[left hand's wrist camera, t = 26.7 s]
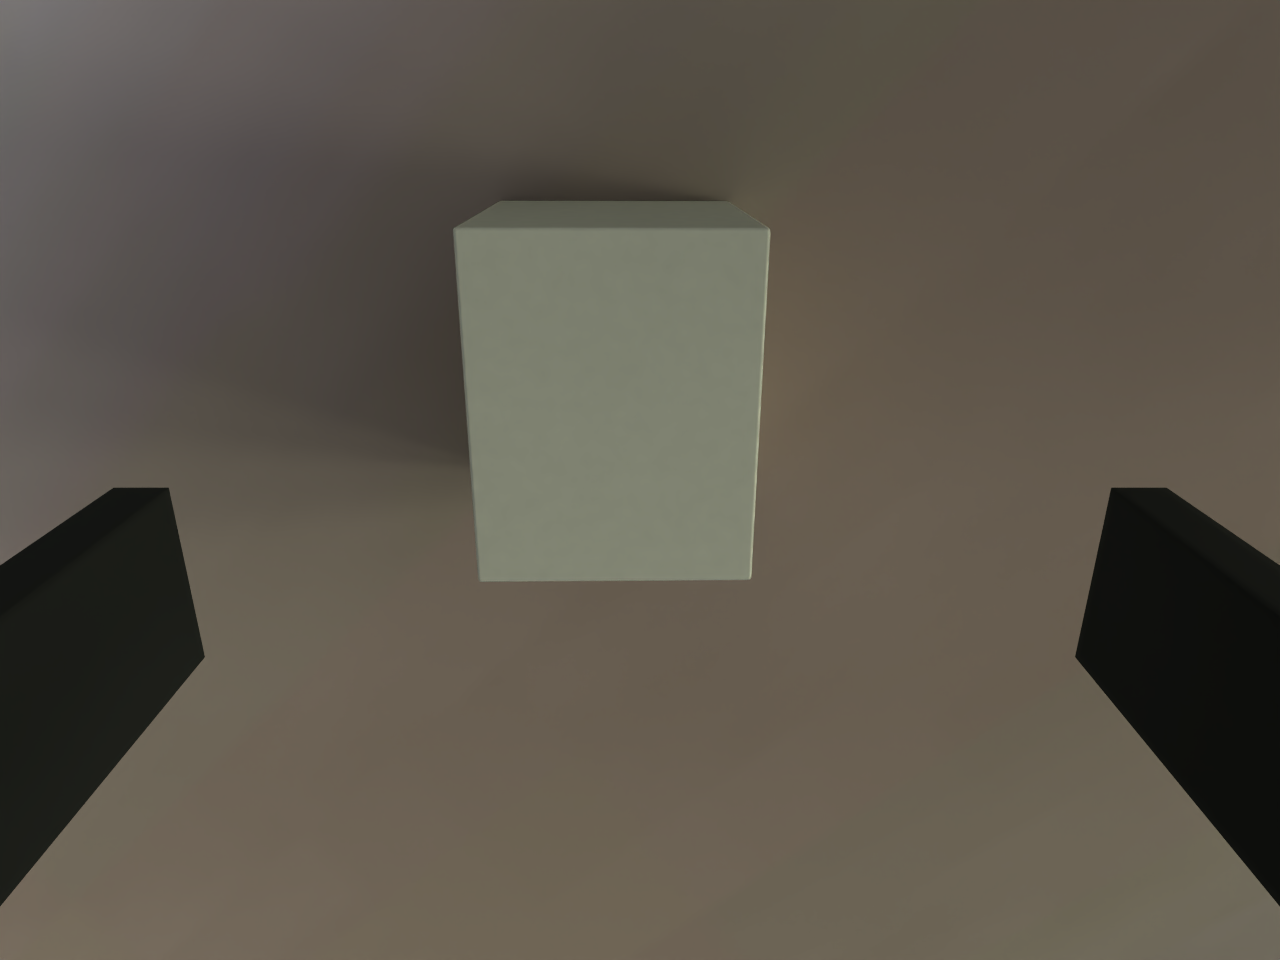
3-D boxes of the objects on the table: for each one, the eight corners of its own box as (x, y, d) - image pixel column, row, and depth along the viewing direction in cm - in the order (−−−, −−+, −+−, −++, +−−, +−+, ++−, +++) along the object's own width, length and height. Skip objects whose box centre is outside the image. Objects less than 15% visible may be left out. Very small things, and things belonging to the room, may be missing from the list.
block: (729, 201, 25) (771, 227, 18) (719, 470, 28) (751, 581, 21) (498, 200, 25) (452, 227, 18) (512, 472, 28) (477, 583, 21)
